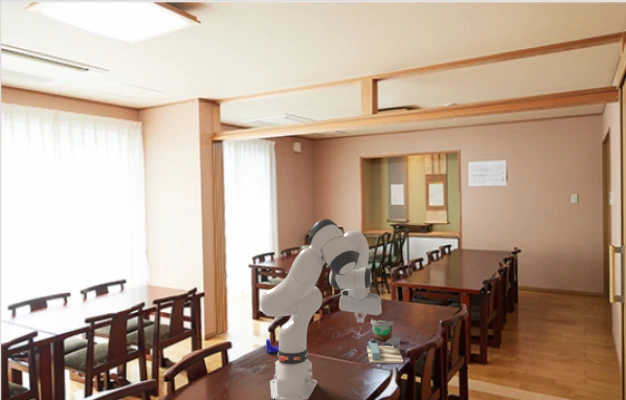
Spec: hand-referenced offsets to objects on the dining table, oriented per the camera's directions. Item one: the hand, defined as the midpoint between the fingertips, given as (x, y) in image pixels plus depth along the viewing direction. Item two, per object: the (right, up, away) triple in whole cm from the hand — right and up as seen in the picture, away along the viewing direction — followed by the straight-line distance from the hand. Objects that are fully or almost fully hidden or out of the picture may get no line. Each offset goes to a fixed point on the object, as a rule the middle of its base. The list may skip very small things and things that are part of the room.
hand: (360, 322), depth 202 cm
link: (+7, -16, +5) cm, 18 cm away
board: (+12, -17, +5) cm, 21 cm away
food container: (+13, -17, +27) cm, 35 cm away
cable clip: (-39, -18, +14) cm, 45 cm away
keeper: (+17, -17, +9) cm, 25 cm away
